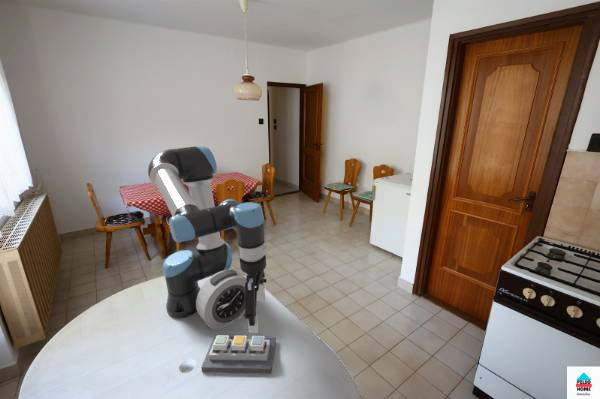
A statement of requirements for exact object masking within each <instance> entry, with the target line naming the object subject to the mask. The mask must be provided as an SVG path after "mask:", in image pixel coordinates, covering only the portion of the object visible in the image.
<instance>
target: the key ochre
mask: <svg viewBox="0 0 600 399" xmlns="http://www.w3.org/2000/svg"><path fill="white" fill-rule="evenodd" d="M247 337H248V336H247V335H234V339H233V342H232V350H245V347H246V343H247Z"/></svg>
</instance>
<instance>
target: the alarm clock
mask: <svg viewBox="0 0 600 399" xmlns="http://www.w3.org/2000/svg"><path fill="white" fill-rule="evenodd" d="M246 277H247V276H244V275H243V274H242V273H241V272H239V271H238V270H235V269H228V270H224V271H221V272H218V273H216V274H215V275H213V276H210V277H208V278H207V280H205V282H204V284H203V285H201V287H200V291H199V293H198V296H197V299H196V309H197V313H198V315H199V316H200V318H201V319H202V320H203V322H204V323H205V324H206V325H207V326H208V327H209V328H210V329H212V330H215V331H219V330H221V329H223V328H225V327H226V326H228V325H230V324H232V323H234V322H235V321H237V320H238V319H240V318H242V317H245V316H244V314H245V283H246V282H247V280H246Z"/></svg>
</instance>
